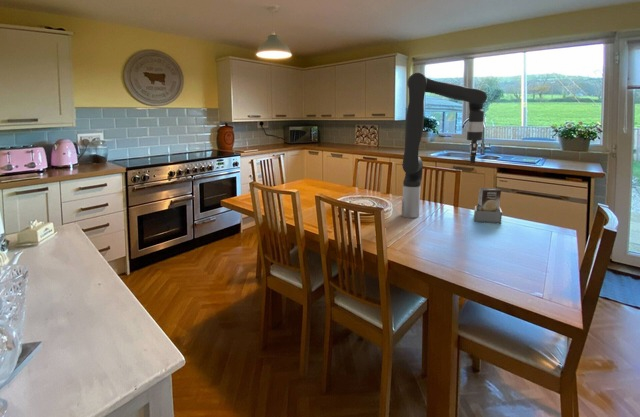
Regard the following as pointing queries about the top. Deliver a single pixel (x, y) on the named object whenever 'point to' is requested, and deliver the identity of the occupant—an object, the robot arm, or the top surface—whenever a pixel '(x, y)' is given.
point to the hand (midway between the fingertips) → (472, 162)
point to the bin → (487, 216)
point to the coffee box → (489, 199)
